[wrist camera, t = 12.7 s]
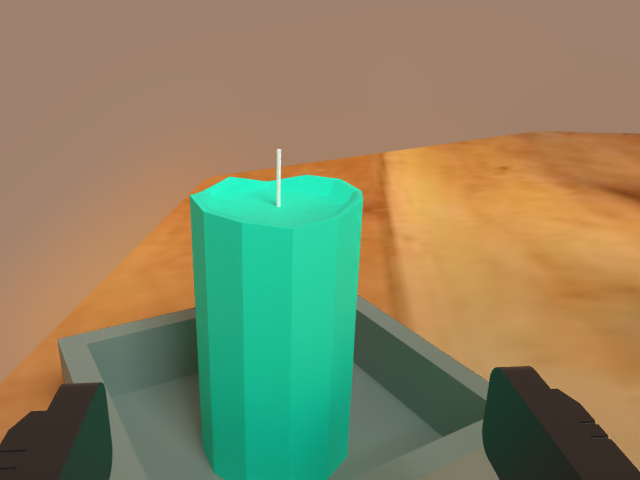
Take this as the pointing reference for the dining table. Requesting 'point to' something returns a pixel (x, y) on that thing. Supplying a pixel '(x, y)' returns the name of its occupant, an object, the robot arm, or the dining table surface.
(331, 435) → the candle
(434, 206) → the dining table surface
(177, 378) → the tray
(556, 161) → the dining table surface
